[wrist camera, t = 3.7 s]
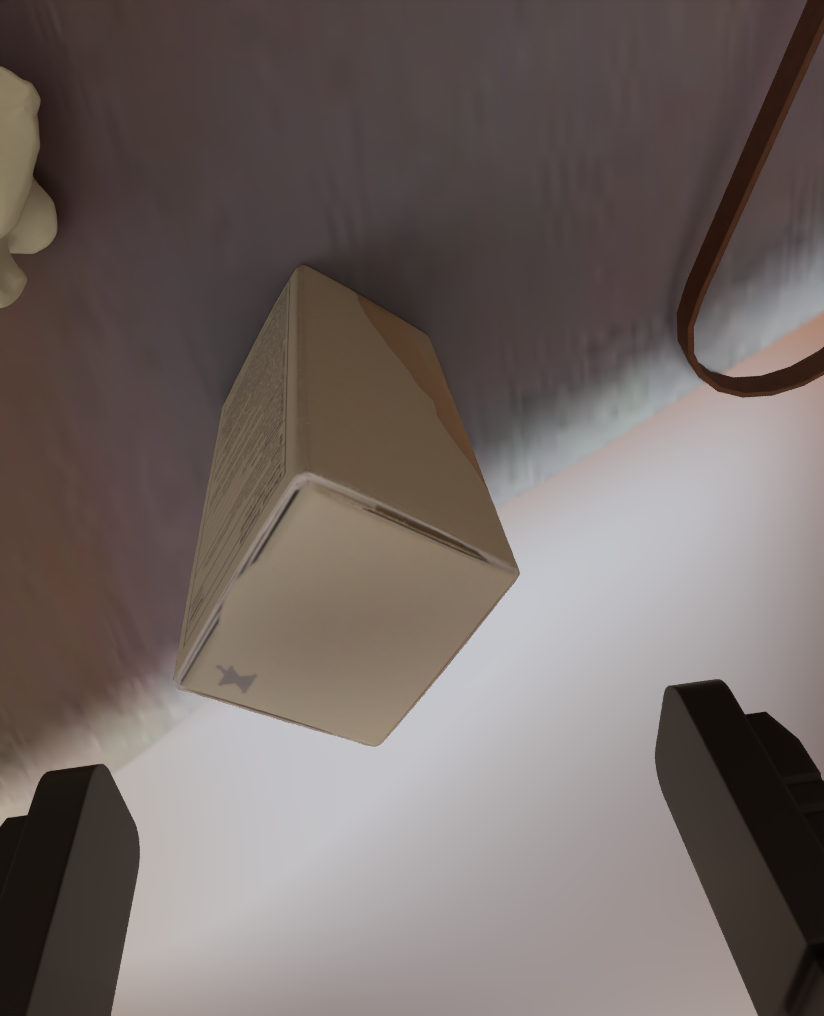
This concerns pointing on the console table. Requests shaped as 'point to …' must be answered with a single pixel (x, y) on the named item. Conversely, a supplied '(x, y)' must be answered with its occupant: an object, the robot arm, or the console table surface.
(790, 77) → the brown looped piece
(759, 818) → the robot arm
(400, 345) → the box
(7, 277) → the bone
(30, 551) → the console table surface
